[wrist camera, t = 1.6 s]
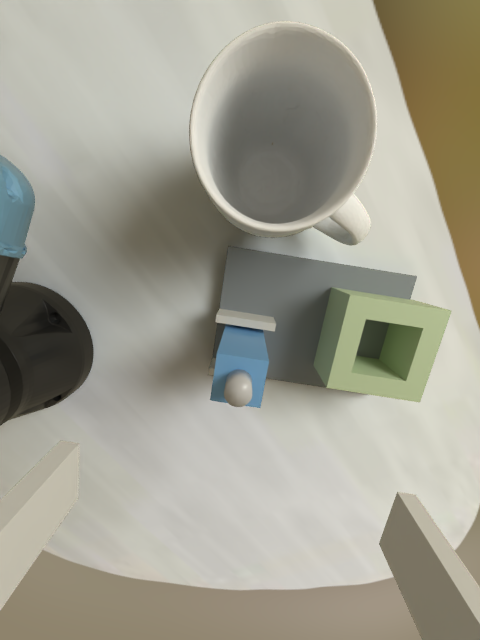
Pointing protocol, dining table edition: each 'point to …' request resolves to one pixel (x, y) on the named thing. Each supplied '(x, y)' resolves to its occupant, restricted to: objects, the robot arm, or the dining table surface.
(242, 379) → the plug
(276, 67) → the mug
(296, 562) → the dining table surface
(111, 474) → the dining table surface
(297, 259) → the panel
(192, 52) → the dining table surface
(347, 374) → the port
